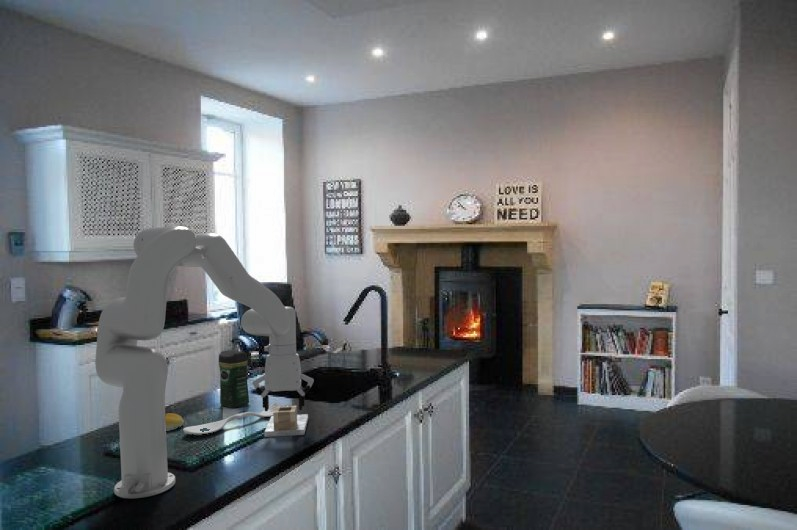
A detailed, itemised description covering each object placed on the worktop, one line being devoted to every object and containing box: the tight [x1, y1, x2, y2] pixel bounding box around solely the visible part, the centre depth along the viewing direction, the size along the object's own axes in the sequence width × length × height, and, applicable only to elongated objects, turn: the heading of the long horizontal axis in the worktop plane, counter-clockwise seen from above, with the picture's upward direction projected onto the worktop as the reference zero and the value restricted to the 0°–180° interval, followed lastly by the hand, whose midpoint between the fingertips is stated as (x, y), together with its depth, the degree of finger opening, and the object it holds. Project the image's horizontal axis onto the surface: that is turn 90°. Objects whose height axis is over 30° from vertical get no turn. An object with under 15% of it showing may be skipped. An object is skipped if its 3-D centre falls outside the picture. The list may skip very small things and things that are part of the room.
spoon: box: [182, 402, 281, 436], centre depth 176 cm, size 9×32×4 cm, turn 132°
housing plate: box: [264, 404, 309, 438], centre depth 172 cm, size 15×11×6 cm
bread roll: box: [165, 412, 185, 428], centre depth 175 cm, size 8×9×4 cm
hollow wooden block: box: [273, 405, 298, 430], centre depth 168 cm, size 6×6×5 cm
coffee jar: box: [218, 349, 250, 408], centre depth 198 cm, size 10×8×19 cm
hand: (283, 409), depth 168 cm, fingers open, 9 cm apart
